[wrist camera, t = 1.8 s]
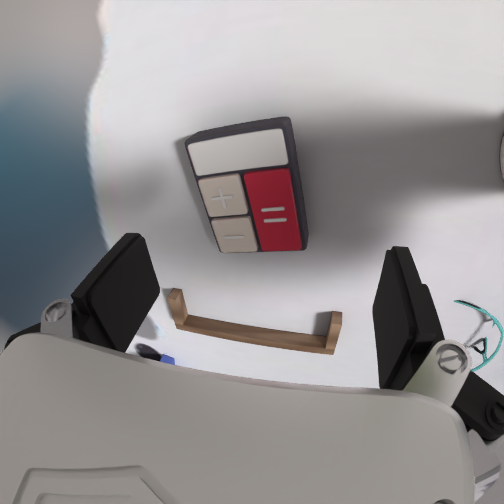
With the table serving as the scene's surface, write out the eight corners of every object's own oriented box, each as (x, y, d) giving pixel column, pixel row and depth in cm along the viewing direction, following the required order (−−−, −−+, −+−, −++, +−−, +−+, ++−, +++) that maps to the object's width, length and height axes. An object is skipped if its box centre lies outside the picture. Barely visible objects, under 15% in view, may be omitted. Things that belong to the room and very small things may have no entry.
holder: (173, 288, 47) (167, 298, 45) (342, 312, 42) (341, 324, 40) (182, 318, 52) (176, 328, 50) (334, 343, 46) (333, 354, 44)
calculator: (218, 257, 37) (179, 143, 28) (228, 237, 40) (195, 131, 32) (306, 254, 34) (284, 124, 25) (309, 233, 37) (290, 115, 28)
